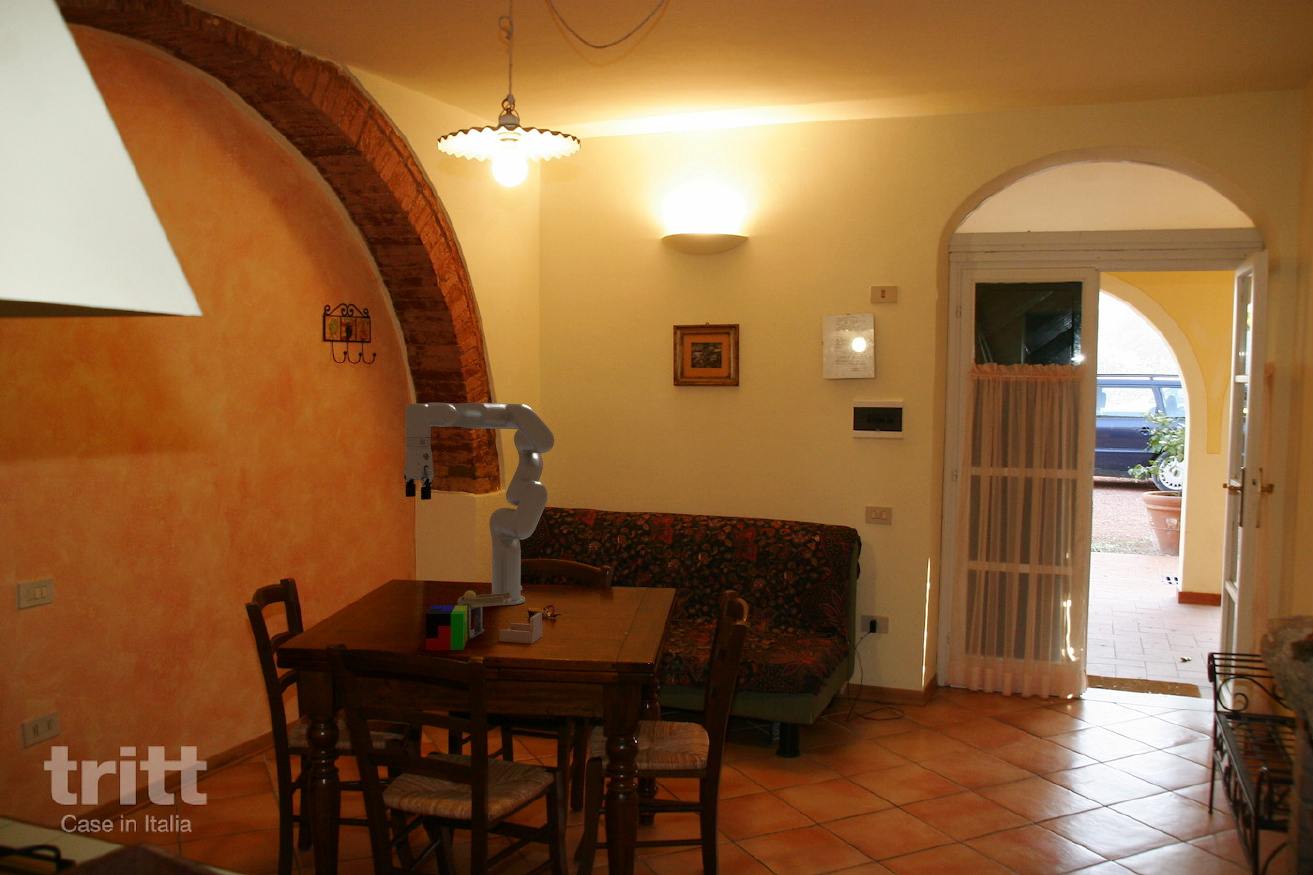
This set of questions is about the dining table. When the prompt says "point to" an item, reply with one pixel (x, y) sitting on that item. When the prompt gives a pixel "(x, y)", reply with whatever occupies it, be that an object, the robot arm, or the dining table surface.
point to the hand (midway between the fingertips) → (418, 498)
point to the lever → (486, 600)
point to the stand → (477, 621)
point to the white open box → (524, 631)
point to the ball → (469, 595)
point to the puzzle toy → (446, 628)
